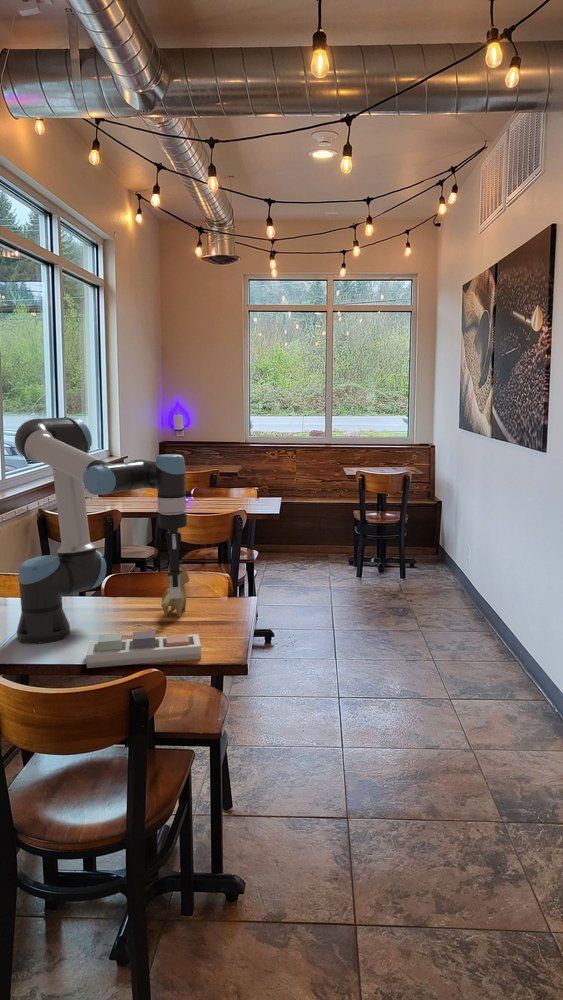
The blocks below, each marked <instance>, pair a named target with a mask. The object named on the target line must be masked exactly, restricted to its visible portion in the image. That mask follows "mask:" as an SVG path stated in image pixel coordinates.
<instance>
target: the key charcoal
mask: <svg viewBox="0 0 563 1000" xmlns="http://www.w3.org/2000/svg"><path fill="white" fill-rule="evenodd" d="M132 636H133V637H132V639H133V648H138V647H151V646H156V641H155V637H156V629H152V630H144V631H143V630H142V631H133V632H132Z"/></svg>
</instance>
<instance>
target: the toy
mask: <svg viewBox="0 0 563 1000" xmlns="http://www.w3.org/2000/svg"><path fill="white" fill-rule="evenodd" d="M169 566H170V564H169V565H168V567H169ZM169 570H170V569H169V568H168V573H170V572H169ZM180 570H182V573H180V592H181V598H172V599H171V596H170V587H168V588H167V589H166V590H165V591H164V594H163V595H162V598H161V608H162V609H163V615H164V617H165V618H166V617H168V616H169V613H168V610H169V607H170V608H171V610H176V614H177V615H176V616H177V618H180V617H182V610H186V608H187V590H186V589H185V585H187V583H188V582H190V575H189V574H188V568H187V565H186V564H183V565H181V567H180ZM167 582H168V583H170V576H168V575H167Z"/></svg>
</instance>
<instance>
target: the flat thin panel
mask: <svg viewBox="0 0 563 1000" xmlns="http://www.w3.org/2000/svg"><path fill="white" fill-rule="evenodd" d="M137 625H138V626H139V625H140V626H143V627H147V628H149V629H152V630H155V631H159V632H162V630H160V629H158V628H154V627H150V626H148V625H144V624H141V623H137V624H133V625H130V626H127V627H124V628H121V629H118V630H115V633H122V635H125V636H128V637H130V635H129V634H125V633H123V632H120V631H122V630H125V629H128V628H130V627H134V626H137ZM162 637H165V634H163V635H162ZM132 638H133V635H132Z"/></svg>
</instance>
